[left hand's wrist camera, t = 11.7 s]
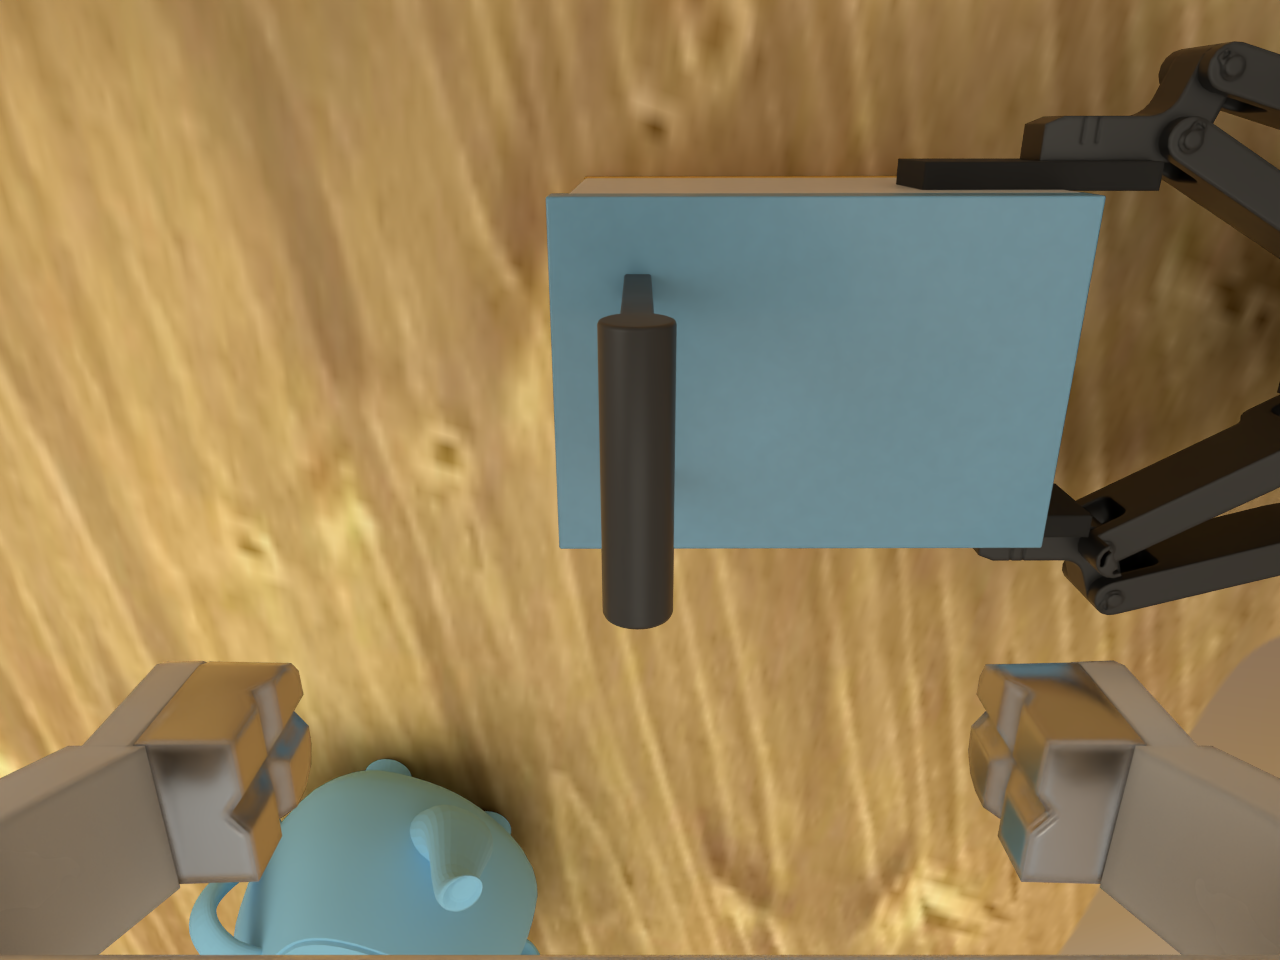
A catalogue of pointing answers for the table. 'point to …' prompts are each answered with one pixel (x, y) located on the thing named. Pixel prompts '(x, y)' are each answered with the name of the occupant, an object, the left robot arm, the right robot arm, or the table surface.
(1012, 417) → the lid
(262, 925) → the teapot
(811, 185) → the chest
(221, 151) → the table surface
